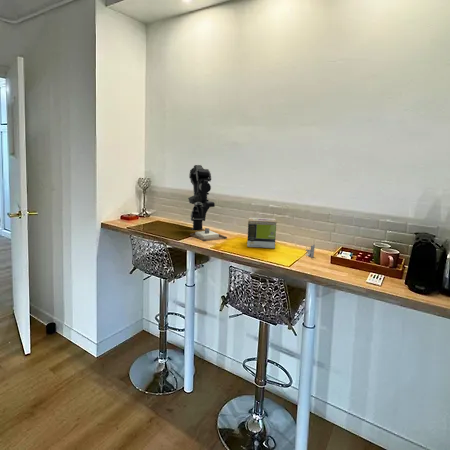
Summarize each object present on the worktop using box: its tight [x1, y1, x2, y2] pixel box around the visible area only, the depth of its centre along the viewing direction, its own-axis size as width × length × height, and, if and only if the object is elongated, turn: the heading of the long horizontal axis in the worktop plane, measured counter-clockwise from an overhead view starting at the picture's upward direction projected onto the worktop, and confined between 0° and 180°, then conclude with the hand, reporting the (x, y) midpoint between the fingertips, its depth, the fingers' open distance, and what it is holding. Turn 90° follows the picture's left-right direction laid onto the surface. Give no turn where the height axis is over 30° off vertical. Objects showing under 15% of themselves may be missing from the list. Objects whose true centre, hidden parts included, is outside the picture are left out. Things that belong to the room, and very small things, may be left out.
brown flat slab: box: [189, 232, 228, 242], centre depth 202 cm, size 16×15×2 cm
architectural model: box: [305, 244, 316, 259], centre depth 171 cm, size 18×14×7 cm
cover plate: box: [195, 227, 220, 239], centre depth 203 cm, size 10×10×5 cm
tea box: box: [246, 217, 277, 249], centre depth 189 cm, size 15×10×15 cm, turn 84°
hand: (201, 216), depth 206 cm, fingers open, 3 cm apart
